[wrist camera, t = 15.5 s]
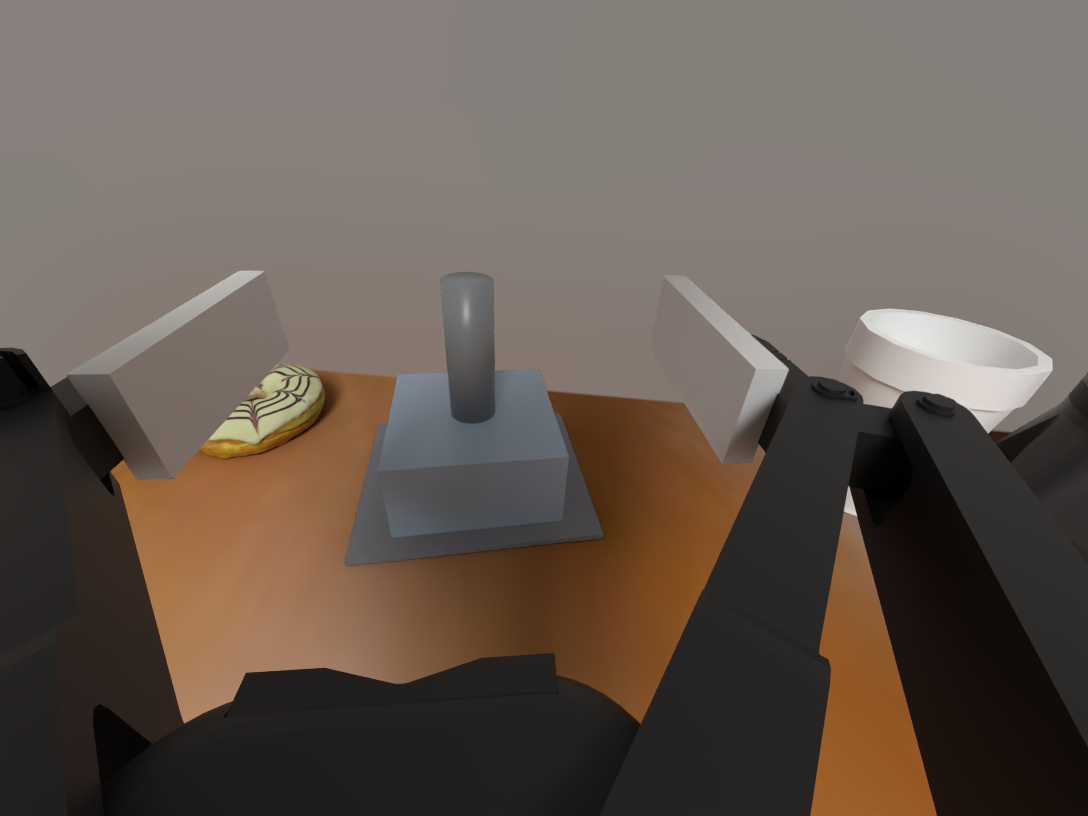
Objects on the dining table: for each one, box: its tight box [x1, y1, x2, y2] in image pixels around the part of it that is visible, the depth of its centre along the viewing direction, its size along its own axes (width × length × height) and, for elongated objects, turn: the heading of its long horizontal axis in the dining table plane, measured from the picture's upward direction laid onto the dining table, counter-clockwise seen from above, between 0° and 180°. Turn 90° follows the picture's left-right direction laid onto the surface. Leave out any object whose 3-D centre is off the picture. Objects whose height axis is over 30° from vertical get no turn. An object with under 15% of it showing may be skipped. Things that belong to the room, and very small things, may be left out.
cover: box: [377, 272, 569, 538], centre depth 29 cm, size 11×11×15 cm
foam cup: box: [838, 309, 1053, 516], centre depth 30 cm, size 10×9×13 cm
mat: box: [345, 414, 604, 566], centre depth 33 cm, size 16×14×1 cm
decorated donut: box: [199, 363, 325, 459], centre depth 36 cm, size 10×11×4 cm
